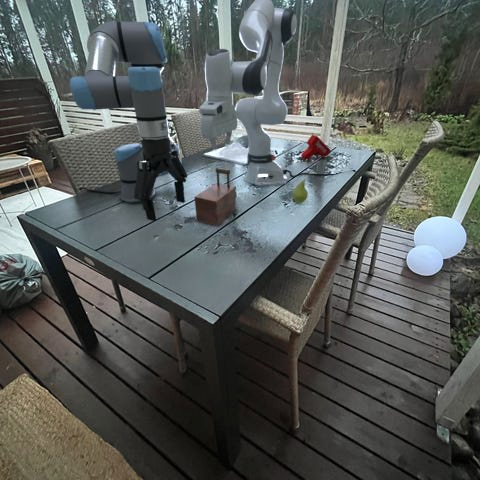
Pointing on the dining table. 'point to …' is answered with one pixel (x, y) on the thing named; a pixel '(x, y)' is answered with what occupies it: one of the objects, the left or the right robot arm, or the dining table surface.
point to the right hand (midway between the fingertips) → (221, 146)
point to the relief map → (231, 153)
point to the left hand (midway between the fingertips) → (167, 210)
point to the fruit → (300, 192)
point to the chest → (215, 209)
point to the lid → (216, 189)
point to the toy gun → (315, 148)
